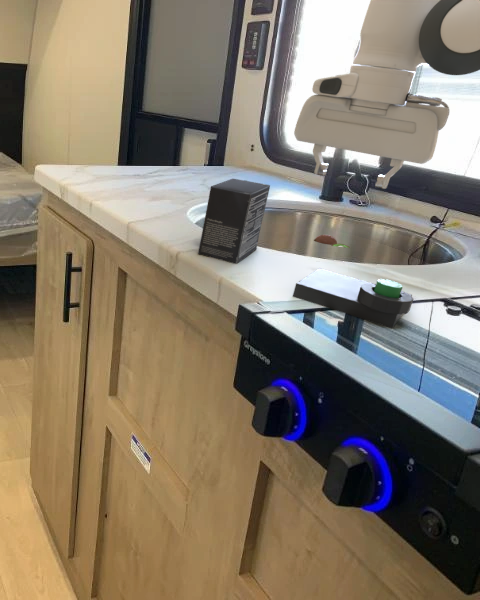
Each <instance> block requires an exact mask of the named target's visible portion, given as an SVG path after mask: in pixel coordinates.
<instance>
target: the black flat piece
mask: <svg viewBox="0 0 480 600" xmlns="http://www.w3.org/2000/svg"><path fill="white" fill-rule="evenodd" d="M375 286H376V283H374V282H370V281H366V280H363V279H359V278H356V277H352V276H348V275H345V274H342V273H338V272H335V271H331V270H328V269H324V268H321V267H319V268H317V269H316V270H314V271H313V272H311V273H310V274H308V275H307V276H305V277H303V278H302V279H300V280H299V281H297V282H296V283H295V286H294V290H293V293H292V297H293V298H297V299H300V300H302V301H306V302H308V303H311V304H314V305H318V306H321V307H325V308H327V309H331V310H334V311H337V312H340V313H342V314H343V313H344V314H346V315H349V316H353V317H355V318H359V319H362V320H365V321H368V322H371V323H374V324H377V325H381V326H384V327H386V328H387V327H388V328H389V329H394V327H395V326H396V325H397V323H398V322H399V320H400V319H401V318H402V316H403V315H407V314H408V313H409V312H410V310H411V307H412V305H413V302H414V297H413V294H411V293H408V292H405V291H404V290H401V293H400V296H399V298H392V297H387V296H384V295H380V294H378V293H376V292H374V289H375Z"/></svg>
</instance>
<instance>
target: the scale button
mask: <svg viewBox="0 0 480 600" xmlns="http://www.w3.org/2000/svg"><path fill="white" fill-rule="evenodd" d="M375 284H376V286H375V289H374V292H376V293H378V294H380V295H384V296H387V297H392V298H399V296H400V293H401V291H403V287H404V285H402V284H401V283H399V282H397V281H394V280H391V279H385V278H380V279H379V278H378V279H376V283H375Z"/></svg>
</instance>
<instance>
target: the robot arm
mask: <svg viewBox="0 0 480 600" xmlns="http://www.w3.org/2000/svg"><path fill="white" fill-rule="evenodd" d="M359 34H360V35H359V47H358V50H357V53H356V55H355V56H354V58H353V60H352V63H351V66H350V68H349V72H348V73H344V74H336V75H332V76H327V77H321V78H317V79H316V80H314V82H313V84H312V88H311V89H312V92H313V95H311V96H310V97H308V98H307V99H306V100H305V102H304V104H303V105H302V107H301V110H300V113H299V115H298V118H297V121H296V124H295V128H294V130H293V131H294V132H293V134H294V137H295V139H296V141H297V142H303V143H308V144H312V145H313V144H314V145H313V147H312V154H313V158H314V161H315V163H316V164H315V168H314V170H313V171H314V172H313V174H314V175H318V176H323V177H324V176H326V174H327V171H328V170H327V169H328V168H329V163H325V162H324V157H323V153H325V152H326V149H327V147H328V148H333V149H334V148H335V149H340V150H344V151H350V152H355V153H362V154H365V155H370V156H377V157H381V158H387V159H391V160H390V163H389V166H390V167H392V168H391V169H390V170H389V171H388V172H387V173H386V174H384V175H383V174H379V175H377V177H376V182H375V184H374V187H375V188H379V189H383V190H385V189H387V188H388V187H389V186H388V185H389V182H390V179H391V178H392V177H393V176H394V175H395V174H396V173H398V171H399V170H401V168H402V167H403V165H404V162H409V163H413V164H420V165H423V164H426V163H428V162H429V161H431V160H432V158H433V157H434V155H435V150H436V146H437V142H438V137H439V132H440V131H441V130H442V129H444V127H445V126H446V124H447V121H448V119H449V115H450V106H449V105H448V104H447V103H446V102H445V101H443V99H442V98H440V97H436V96H432V97H429V96H424V95H420V94H414V93H410V91H411V88H412V85H413V82H414V79H415V75H416V72H417V69H418V68H419V66H422V65H423V66H428V67H430V68H431V69H433V70H434V71H436V72H438V73H440V74H443V75H448V76H464V75H469V74H474V73H475V72H478V71H480V0H370V1H369V4H368V7H367V10H366V13H365V16H364V19H363V23H362V26H361V30H360V33H359Z"/></svg>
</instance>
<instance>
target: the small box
mask: <svg viewBox="0 0 480 600" xmlns="http://www.w3.org/2000/svg"><path fill="white" fill-rule="evenodd" d="M270 189H271V185H270V184H266V183H261V182H256V181H250V180H243V179H237V178H230V179H227V180H225V181H221V182H219V183H215V184H214V185H210V189H209V193H208V199H207V204H206V211H205V215H204V216H205V217H204V220H203V225H202V231H201V237H200V241H199V246H198V251H197V254H198V255H201V256H205V257H208V258H209V257H210V258H211V259H212V258H213V259H216V260H220V261H224V262H228V263H231V264H239V263H240V262H242V261H243V260H244V259H246V258H247V257H248V256H250V255H251V254H252V253H254V252H255V251H256V250H257V248H258V243H259V237H260V233H261V229H262V228H261V227H262V223H263V219H264V215H265V211H266V205H267V202H268V197H269V193H270Z"/></svg>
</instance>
